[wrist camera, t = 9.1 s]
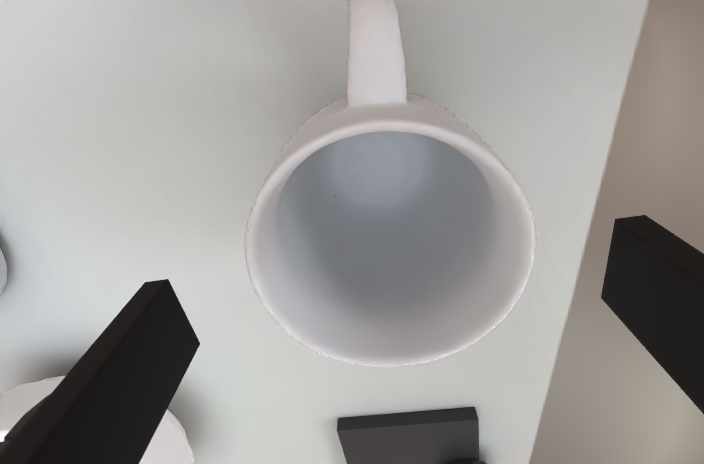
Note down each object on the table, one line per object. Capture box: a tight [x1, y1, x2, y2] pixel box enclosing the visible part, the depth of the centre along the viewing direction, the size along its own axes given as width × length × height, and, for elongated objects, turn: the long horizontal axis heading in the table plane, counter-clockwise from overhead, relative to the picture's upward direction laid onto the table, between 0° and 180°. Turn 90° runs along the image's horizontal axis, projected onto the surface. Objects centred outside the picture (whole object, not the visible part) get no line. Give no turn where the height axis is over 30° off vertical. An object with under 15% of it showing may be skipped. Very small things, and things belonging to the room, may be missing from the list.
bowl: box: [0, 376, 194, 464], centre depth 36 cm, size 20×20×8 cm
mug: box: [245, 0, 536, 367], centre depth 19 cm, size 15×11×13 cm
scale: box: [337, 407, 486, 464], centre depth 40 cm, size 15×12×3 cm
